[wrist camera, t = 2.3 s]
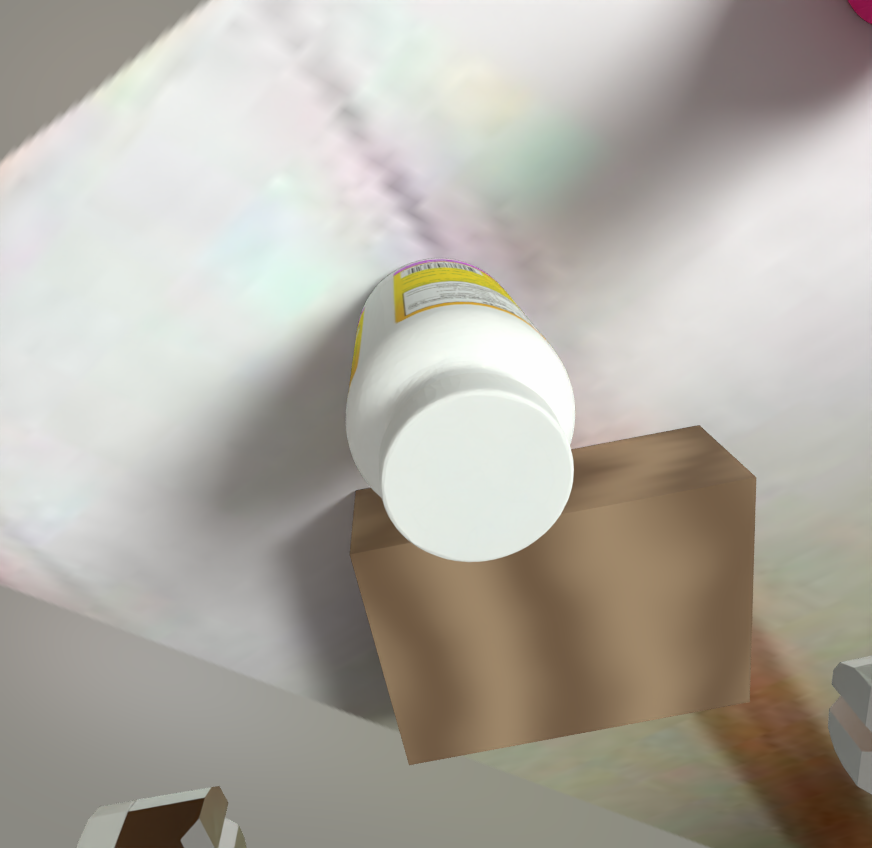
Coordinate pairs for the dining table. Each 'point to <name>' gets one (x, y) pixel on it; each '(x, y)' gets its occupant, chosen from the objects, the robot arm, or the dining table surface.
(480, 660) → the walnut stand
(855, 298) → the dining table surface
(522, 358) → the supplement bottle
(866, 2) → the pepper mill
